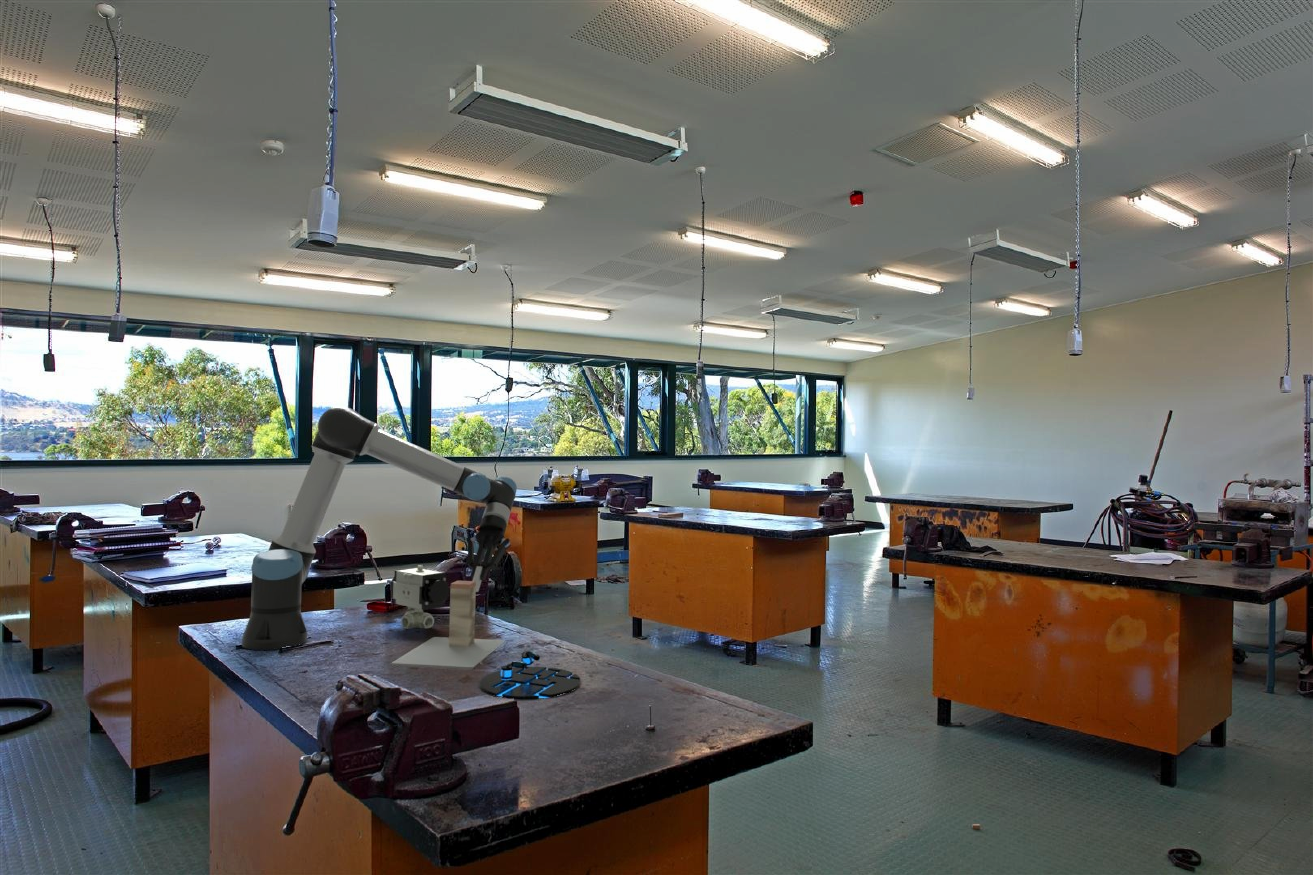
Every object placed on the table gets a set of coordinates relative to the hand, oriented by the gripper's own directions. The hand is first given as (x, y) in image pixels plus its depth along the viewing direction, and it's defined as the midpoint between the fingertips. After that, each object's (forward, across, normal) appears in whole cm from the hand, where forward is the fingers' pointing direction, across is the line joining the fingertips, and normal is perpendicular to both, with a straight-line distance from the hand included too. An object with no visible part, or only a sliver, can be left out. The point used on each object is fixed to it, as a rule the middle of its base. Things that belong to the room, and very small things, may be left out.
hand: (474, 588), depth 206 cm
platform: (+35, -25, +15) cm, 46 cm away
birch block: (+15, 0, -4) cm, 15 cm away
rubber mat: (+20, 0, +1) cm, 20 cm away
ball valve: (+3, +20, -16) cm, 26 cm away
